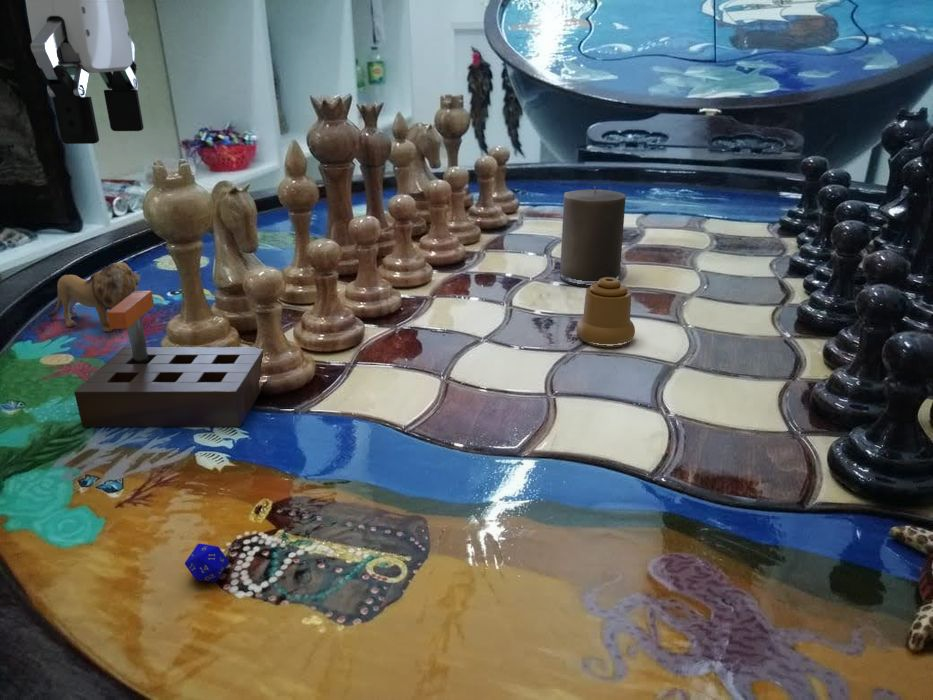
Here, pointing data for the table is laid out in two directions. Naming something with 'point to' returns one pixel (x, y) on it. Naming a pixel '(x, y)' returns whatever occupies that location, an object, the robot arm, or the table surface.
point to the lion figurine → (96, 292)
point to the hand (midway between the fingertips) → (105, 136)
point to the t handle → (133, 321)
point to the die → (206, 562)
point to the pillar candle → (592, 235)
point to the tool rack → (173, 388)
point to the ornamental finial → (606, 314)
